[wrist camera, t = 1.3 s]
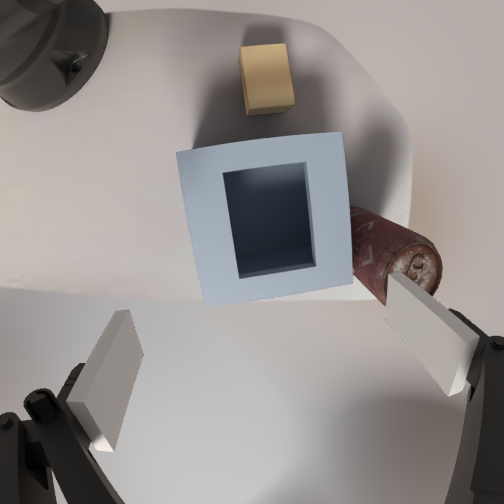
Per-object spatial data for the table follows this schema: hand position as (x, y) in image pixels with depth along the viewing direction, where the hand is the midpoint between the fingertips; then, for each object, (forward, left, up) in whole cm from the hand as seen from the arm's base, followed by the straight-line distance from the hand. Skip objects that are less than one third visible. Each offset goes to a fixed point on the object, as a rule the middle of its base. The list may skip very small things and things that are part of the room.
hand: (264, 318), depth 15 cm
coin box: (-3, +2, -19) cm, 19 cm away
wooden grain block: (-15, +4, -19) cm, 24 cm away
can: (+2, +12, -19) cm, 23 cm away
